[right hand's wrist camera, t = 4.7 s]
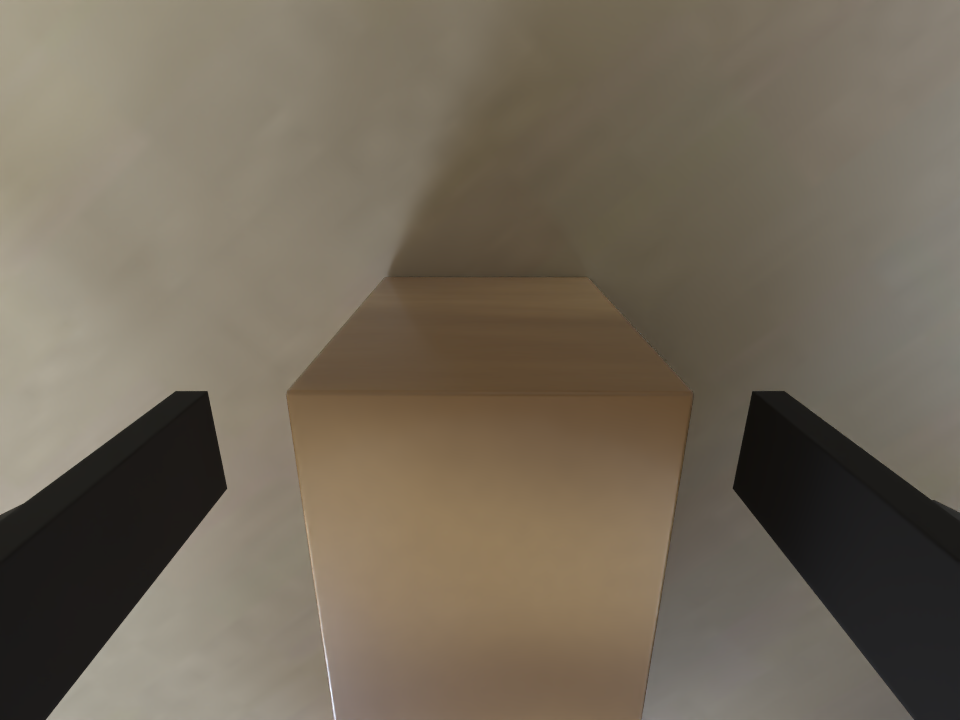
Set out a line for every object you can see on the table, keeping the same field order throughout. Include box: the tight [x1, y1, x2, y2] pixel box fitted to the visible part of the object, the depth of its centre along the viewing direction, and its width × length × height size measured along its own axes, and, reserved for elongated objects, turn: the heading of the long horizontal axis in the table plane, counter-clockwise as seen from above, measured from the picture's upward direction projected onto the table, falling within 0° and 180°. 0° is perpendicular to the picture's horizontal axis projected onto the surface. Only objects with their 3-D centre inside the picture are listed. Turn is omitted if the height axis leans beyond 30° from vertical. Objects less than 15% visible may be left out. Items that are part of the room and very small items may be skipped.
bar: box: [286, 277, 694, 720], centre depth 15 cm, size 23×6×8 cm, turn 0°
